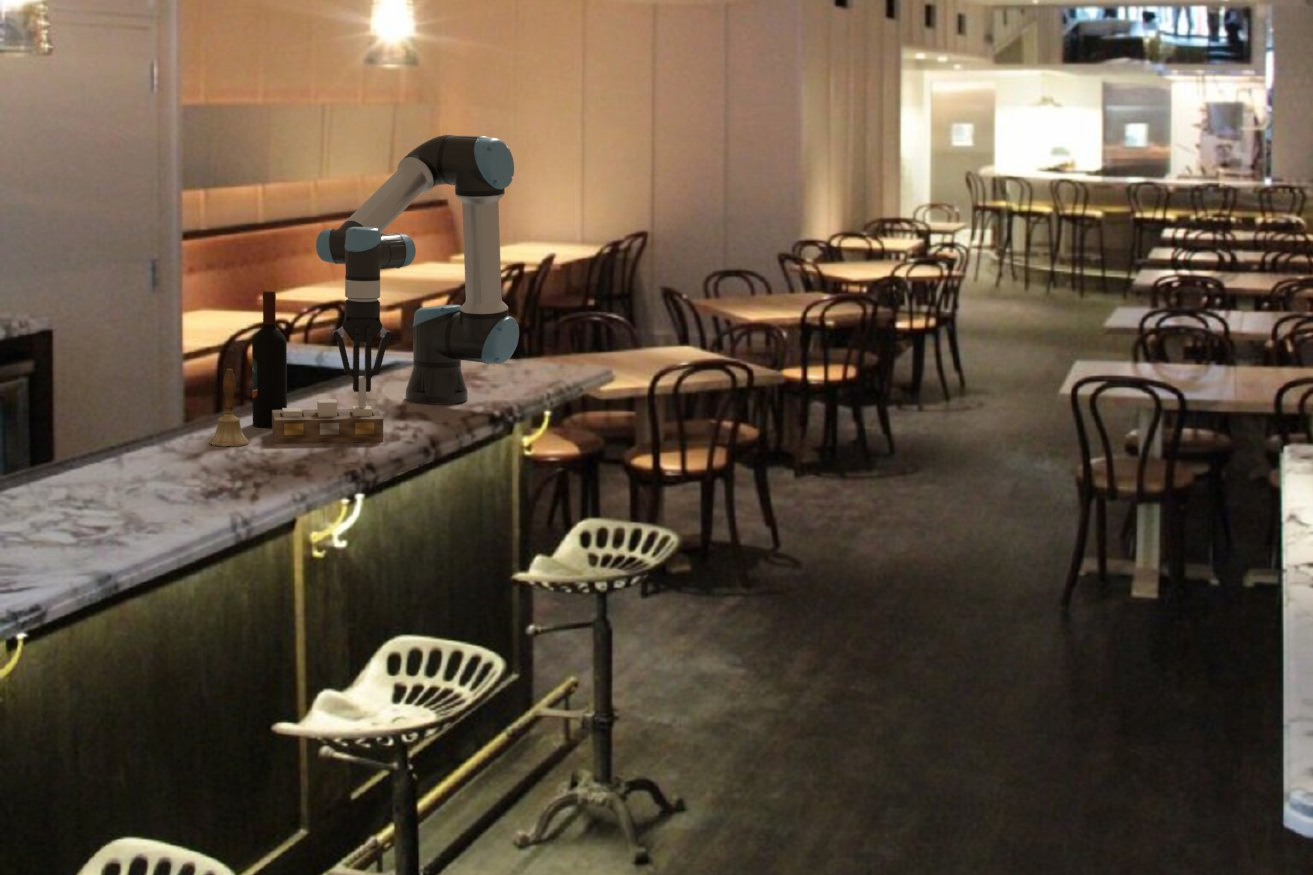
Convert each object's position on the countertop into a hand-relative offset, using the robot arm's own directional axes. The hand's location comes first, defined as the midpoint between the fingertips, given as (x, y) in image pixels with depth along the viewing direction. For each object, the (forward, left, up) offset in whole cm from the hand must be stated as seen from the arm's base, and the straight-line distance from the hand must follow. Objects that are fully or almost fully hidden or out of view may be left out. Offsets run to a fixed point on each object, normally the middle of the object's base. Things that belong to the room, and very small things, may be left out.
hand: (361, 406), depth 395 cm
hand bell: (+28, +5, -7) cm, 30 cm away
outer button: (+15, 0, -6) cm, 16 cm away
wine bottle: (+19, -15, -7) cm, 25 cm away
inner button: (0, 0, -5) cm, 5 cm away
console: (+7, 0, -7) cm, 10 cm away
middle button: (+7, 0, -4) cm, 8 cm away
